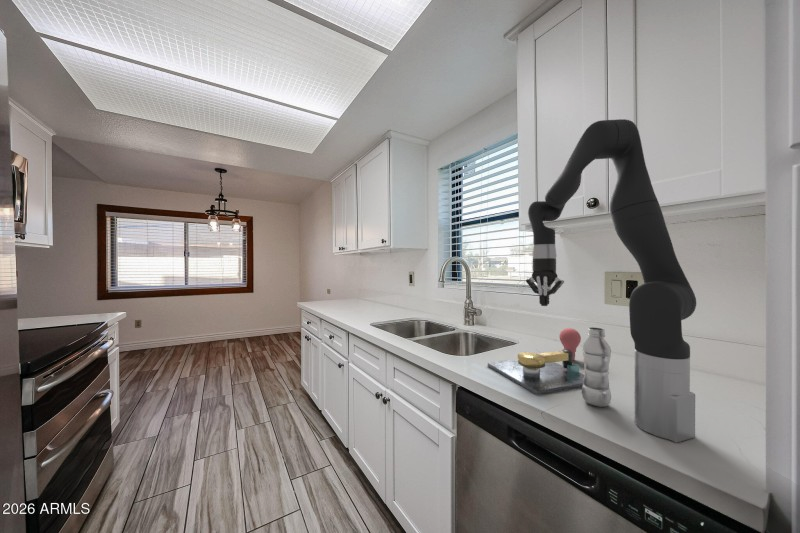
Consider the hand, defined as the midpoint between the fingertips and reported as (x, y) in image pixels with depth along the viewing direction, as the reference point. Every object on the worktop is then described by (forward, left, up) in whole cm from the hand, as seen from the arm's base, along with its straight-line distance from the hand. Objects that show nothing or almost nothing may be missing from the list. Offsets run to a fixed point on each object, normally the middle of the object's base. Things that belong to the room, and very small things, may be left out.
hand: (544, 305), depth 103 cm
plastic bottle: (-26, +8, -22) cm, 35 cm away
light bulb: (+3, -15, -22) cm, 27 cm away
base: (-5, +8, -22) cm, 24 cm away
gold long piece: (-8, +7, -20) cm, 22 cm away
